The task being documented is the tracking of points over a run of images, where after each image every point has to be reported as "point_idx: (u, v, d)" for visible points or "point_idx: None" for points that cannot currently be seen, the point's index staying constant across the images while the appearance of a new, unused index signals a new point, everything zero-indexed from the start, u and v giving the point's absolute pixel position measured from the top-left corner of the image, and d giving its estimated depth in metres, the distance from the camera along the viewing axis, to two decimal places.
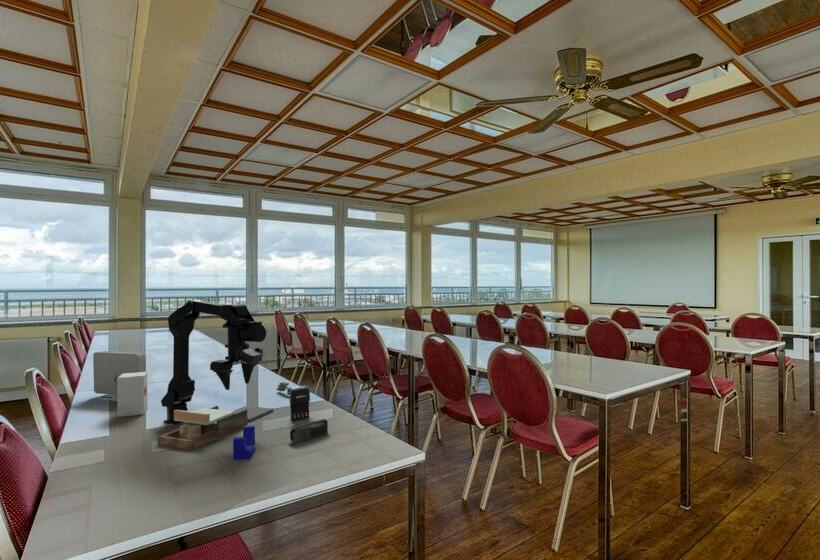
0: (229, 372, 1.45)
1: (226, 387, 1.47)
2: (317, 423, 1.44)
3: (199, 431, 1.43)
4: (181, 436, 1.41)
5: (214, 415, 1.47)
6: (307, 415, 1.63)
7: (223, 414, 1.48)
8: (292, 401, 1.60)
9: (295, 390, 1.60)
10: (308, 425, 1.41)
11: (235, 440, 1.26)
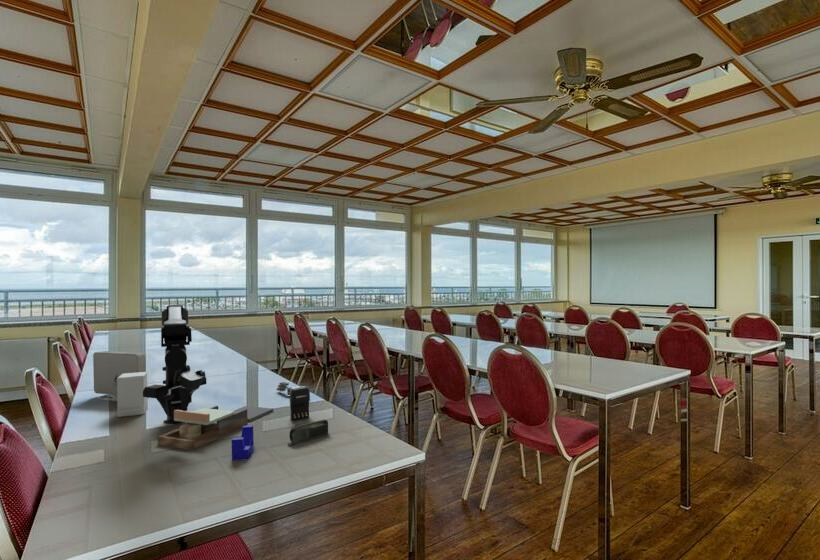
0: (170, 397, 1.32)
1: (167, 413, 1.35)
2: (317, 423, 1.43)
3: (199, 431, 1.43)
4: (181, 436, 1.41)
5: (214, 415, 1.47)
6: (307, 415, 1.63)
7: (223, 414, 1.48)
8: (292, 401, 1.60)
9: (295, 390, 1.60)
10: (308, 425, 1.41)
11: (234, 440, 1.26)
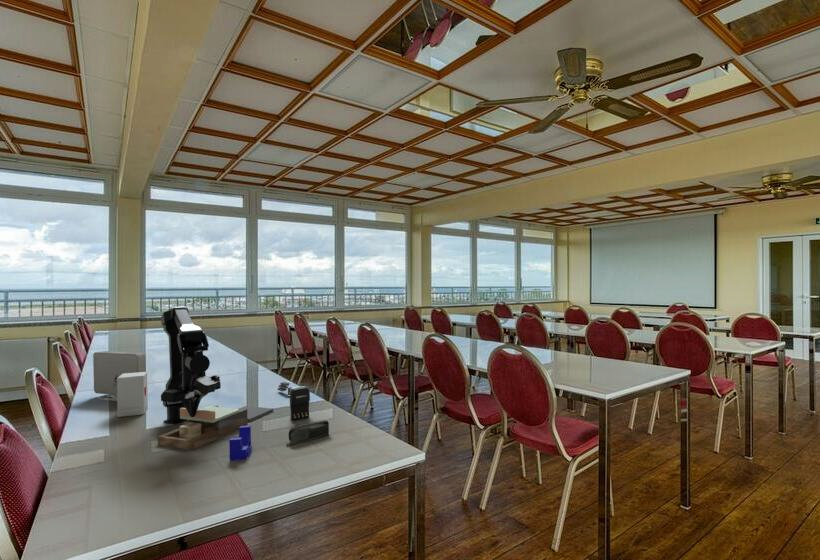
0: (193, 399, 1.41)
1: (191, 414, 1.43)
2: (317, 424, 1.42)
3: (199, 431, 1.43)
4: (181, 436, 1.41)
5: (219, 413, 1.49)
6: (307, 415, 1.63)
7: (228, 412, 1.50)
8: (292, 401, 1.60)
9: (295, 390, 1.60)
10: (307, 426, 1.40)
11: (231, 440, 1.26)
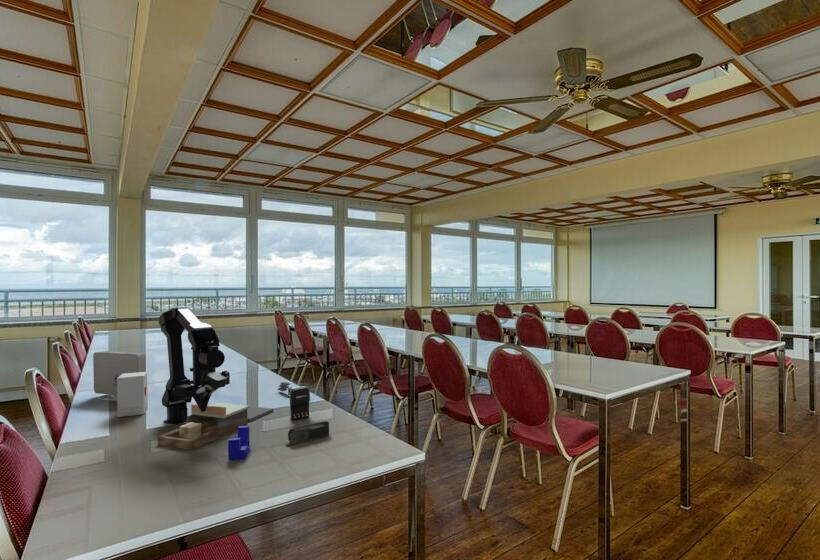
0: (204, 394, 1.44)
1: (201, 409, 1.47)
2: (317, 425, 1.42)
3: (199, 431, 1.43)
4: (181, 436, 1.41)
5: (229, 409, 1.54)
6: (307, 415, 1.63)
7: (238, 408, 1.54)
8: (292, 401, 1.60)
9: (295, 390, 1.60)
10: (307, 426, 1.40)
11: (230, 440, 1.26)
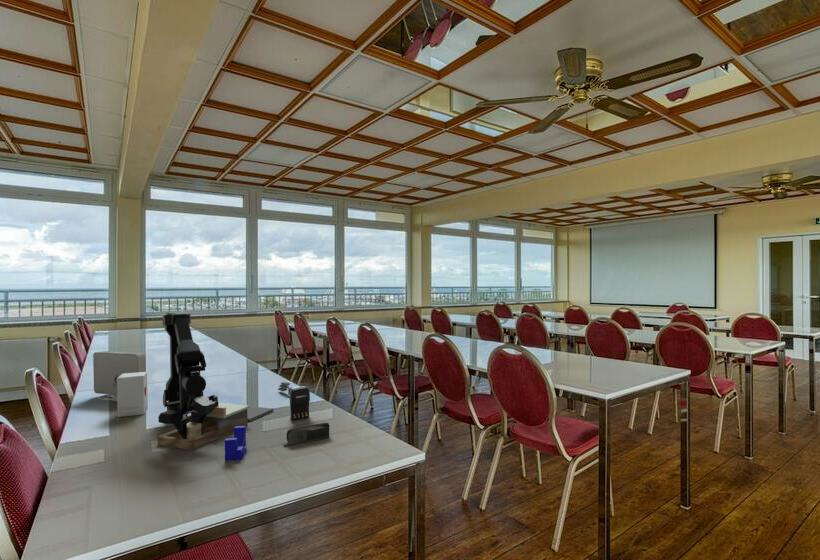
0: (185, 422, 1.38)
1: (183, 437, 1.40)
2: (316, 426, 1.41)
3: (199, 431, 1.43)
4: None
5: (229, 409, 1.54)
6: (307, 415, 1.63)
7: (238, 408, 1.54)
8: (292, 401, 1.60)
9: (295, 390, 1.60)
10: (306, 427, 1.39)
11: (227, 441, 1.26)
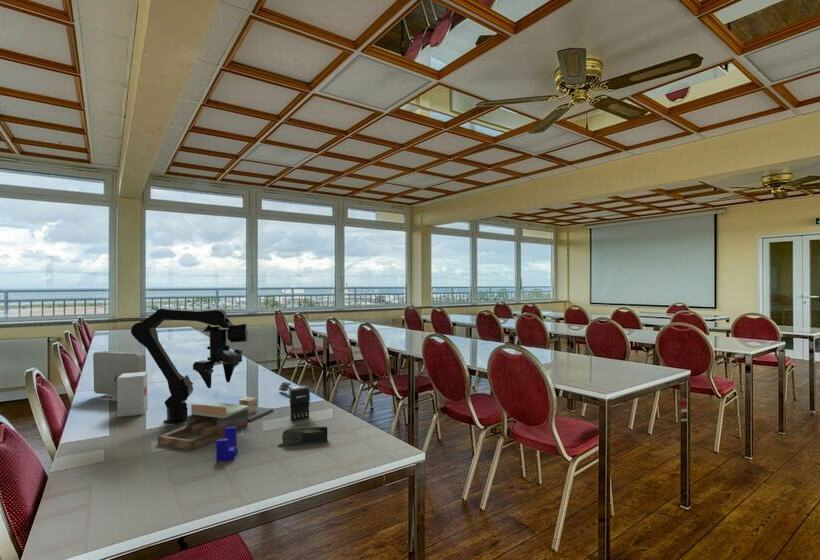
0: (210, 372, 1.59)
1: (208, 385, 1.61)
2: (312, 429, 1.38)
3: (255, 404, 1.69)
4: None
5: (229, 409, 1.54)
6: (307, 415, 1.63)
7: (238, 408, 1.54)
8: (292, 401, 1.60)
9: (295, 390, 1.60)
10: (301, 429, 1.37)
11: (218, 441, 1.25)
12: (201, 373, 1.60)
